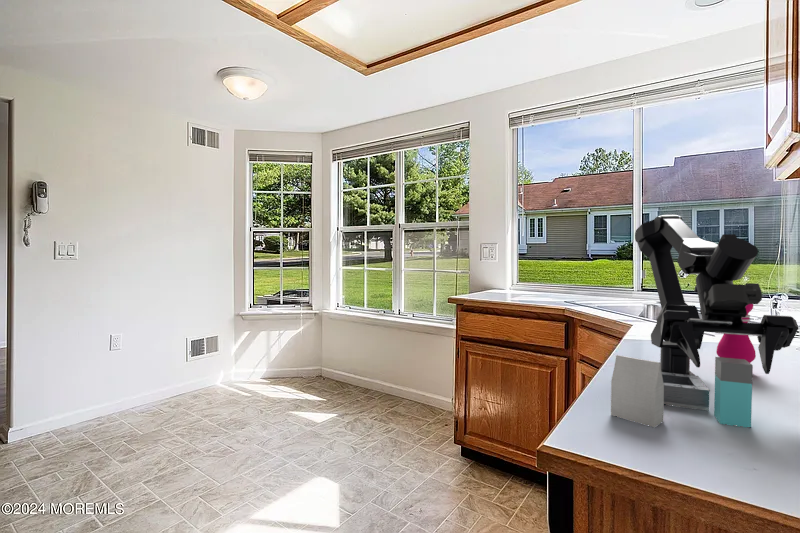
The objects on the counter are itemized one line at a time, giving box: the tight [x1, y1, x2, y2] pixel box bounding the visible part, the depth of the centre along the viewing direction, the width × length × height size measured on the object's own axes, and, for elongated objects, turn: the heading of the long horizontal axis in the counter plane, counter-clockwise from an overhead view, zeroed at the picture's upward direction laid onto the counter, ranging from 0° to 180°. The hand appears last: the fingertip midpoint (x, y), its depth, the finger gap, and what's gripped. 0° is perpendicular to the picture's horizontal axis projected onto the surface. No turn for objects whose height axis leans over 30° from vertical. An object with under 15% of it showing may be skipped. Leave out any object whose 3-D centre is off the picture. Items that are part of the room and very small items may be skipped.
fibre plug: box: [713, 356, 754, 428], centre depth 69 cm, size 4×4×10 cm
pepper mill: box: [716, 304, 757, 374], centre depth 99 cm, size 7×7×20 cm
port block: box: [662, 372, 710, 412], centre depth 81 cm, size 10×10×4 cm
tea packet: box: [610, 354, 665, 428], centre depth 71 cm, size 4×7×10 cm, turn 40°
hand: (732, 369), depth 70 cm, fingers open, 9 cm apart
